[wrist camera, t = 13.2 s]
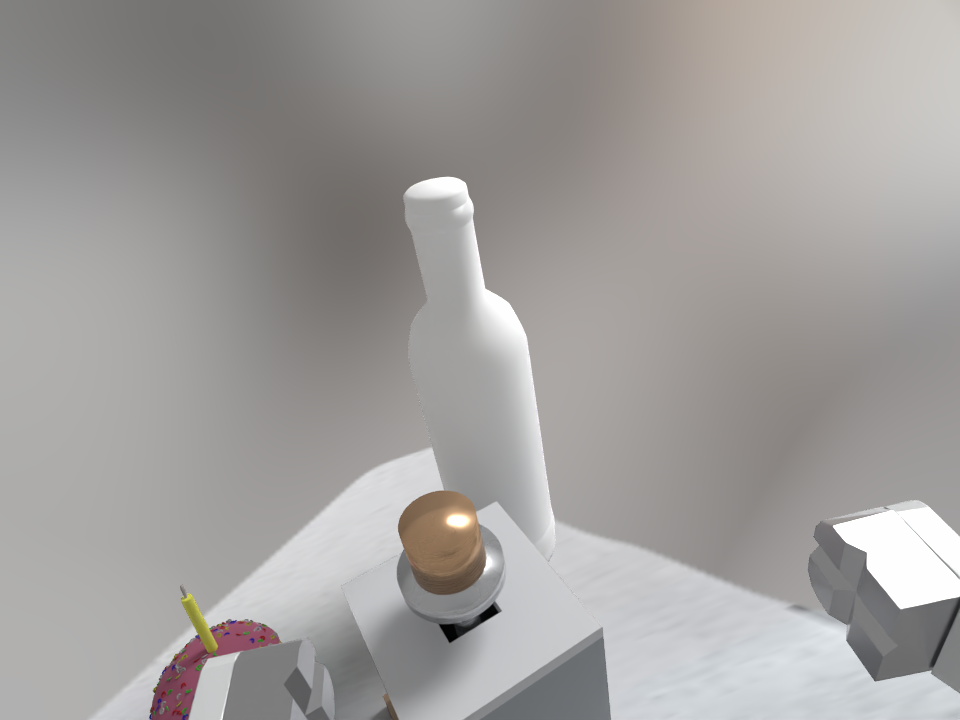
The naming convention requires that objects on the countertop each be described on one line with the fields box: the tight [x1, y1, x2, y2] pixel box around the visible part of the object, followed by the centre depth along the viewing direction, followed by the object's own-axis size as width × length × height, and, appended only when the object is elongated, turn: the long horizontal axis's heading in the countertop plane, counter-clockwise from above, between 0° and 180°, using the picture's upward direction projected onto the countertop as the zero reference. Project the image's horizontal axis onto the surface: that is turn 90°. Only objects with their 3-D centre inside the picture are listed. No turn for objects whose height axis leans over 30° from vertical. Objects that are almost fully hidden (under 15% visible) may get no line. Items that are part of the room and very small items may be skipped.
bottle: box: [403, 177, 556, 562], centre depth 42 cm, size 8×8×30 cm
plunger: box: [397, 491, 506, 638], centre depth 33 cm, size 8×8×18 cm
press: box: [341, 501, 611, 720], centre depth 35 cm, size 11×11×13 cm
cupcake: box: [149, 585, 282, 720], centre depth 38 cm, size 9×8×12 cm
